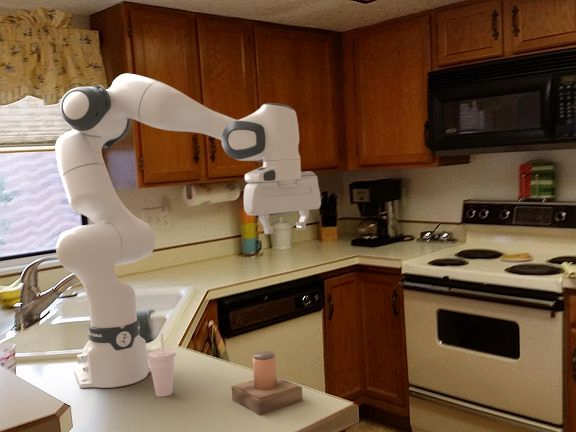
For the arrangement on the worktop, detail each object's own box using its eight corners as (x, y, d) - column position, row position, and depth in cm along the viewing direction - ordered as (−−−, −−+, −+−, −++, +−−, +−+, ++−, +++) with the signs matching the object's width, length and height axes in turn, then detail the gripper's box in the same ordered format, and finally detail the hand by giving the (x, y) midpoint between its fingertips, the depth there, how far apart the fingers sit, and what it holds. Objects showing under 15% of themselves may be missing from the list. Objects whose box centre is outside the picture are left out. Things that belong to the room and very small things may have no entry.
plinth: (232, 400, 134) (231, 385, 133) (273, 387, 140) (272, 373, 140) (260, 415, 125) (259, 399, 124) (302, 400, 131) (301, 385, 131)
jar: (249, 385, 133) (248, 354, 132) (269, 380, 135) (267, 349, 135) (262, 391, 128) (260, 359, 128) (281, 385, 131) (279, 354, 131)
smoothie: (165, 400, 135) (161, 339, 134) (143, 396, 138) (139, 336, 137) (183, 390, 141) (179, 331, 140) (162, 387, 144) (158, 329, 143)
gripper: (308, 171, 151) (311, 226, 152) (238, 175, 139) (242, 235, 140) (325, 170, 146) (327, 227, 147) (253, 174, 134) (257, 237, 135)
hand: (285, 231), depth 143 cm, fingers open, 8 cm apart
